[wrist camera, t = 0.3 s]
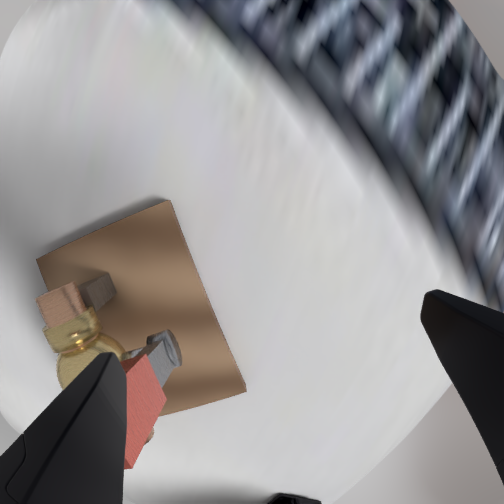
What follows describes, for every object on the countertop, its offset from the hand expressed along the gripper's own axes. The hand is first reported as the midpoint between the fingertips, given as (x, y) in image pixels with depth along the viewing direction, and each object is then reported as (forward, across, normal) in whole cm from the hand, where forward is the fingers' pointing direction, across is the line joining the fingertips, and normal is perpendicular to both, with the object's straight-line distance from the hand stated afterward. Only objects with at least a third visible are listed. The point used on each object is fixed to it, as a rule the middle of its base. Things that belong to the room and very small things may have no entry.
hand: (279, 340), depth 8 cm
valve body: (+13, +10, +9) cm, 18 cm away
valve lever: (+8, +5, +7) cm, 12 cm away
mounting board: (+14, +9, +9) cm, 19 cm away
